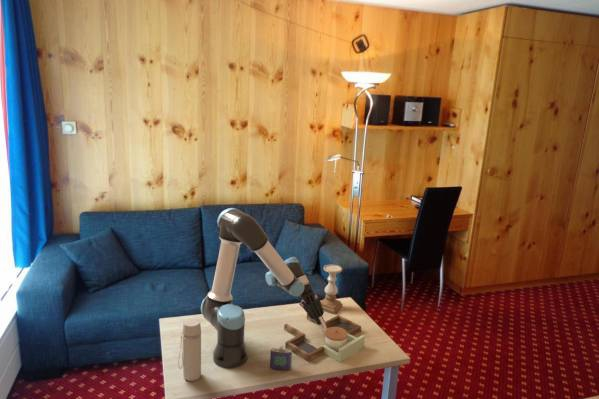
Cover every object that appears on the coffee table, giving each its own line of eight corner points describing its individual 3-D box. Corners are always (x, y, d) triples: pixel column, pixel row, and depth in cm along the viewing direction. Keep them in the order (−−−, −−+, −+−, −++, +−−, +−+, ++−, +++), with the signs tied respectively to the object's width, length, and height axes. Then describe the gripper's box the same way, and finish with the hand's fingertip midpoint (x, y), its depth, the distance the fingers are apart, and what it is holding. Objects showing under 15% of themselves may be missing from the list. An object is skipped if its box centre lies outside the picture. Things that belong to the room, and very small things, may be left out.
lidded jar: (343, 340, 218) (345, 323, 216) (348, 353, 208) (350, 335, 205) (322, 340, 217) (323, 323, 214) (325, 354, 206) (327, 335, 204)
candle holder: (334, 314, 242) (337, 273, 237) (316, 308, 248) (319, 268, 242) (342, 306, 252) (346, 267, 246) (325, 301, 257) (328, 262, 251)
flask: (291, 367, 195) (292, 345, 193) (290, 371, 192) (291, 349, 190) (270, 365, 196) (271, 344, 193) (269, 370, 193) (270, 348, 190)
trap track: (268, 337, 217) (269, 326, 216) (321, 311, 245) (322, 301, 243) (324, 372, 193) (325, 359, 192) (376, 339, 221) (377, 328, 219)
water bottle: (199, 369, 190) (199, 316, 184) (202, 380, 183) (202, 325, 177) (177, 373, 187) (176, 319, 181) (179, 384, 180) (178, 329, 174)
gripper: (307, 286, 231) (329, 328, 224) (289, 292, 222) (311, 337, 215) (315, 280, 226) (338, 323, 219) (297, 286, 217) (320, 331, 210)
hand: (324, 330), depth 217 cm, fingers closed
